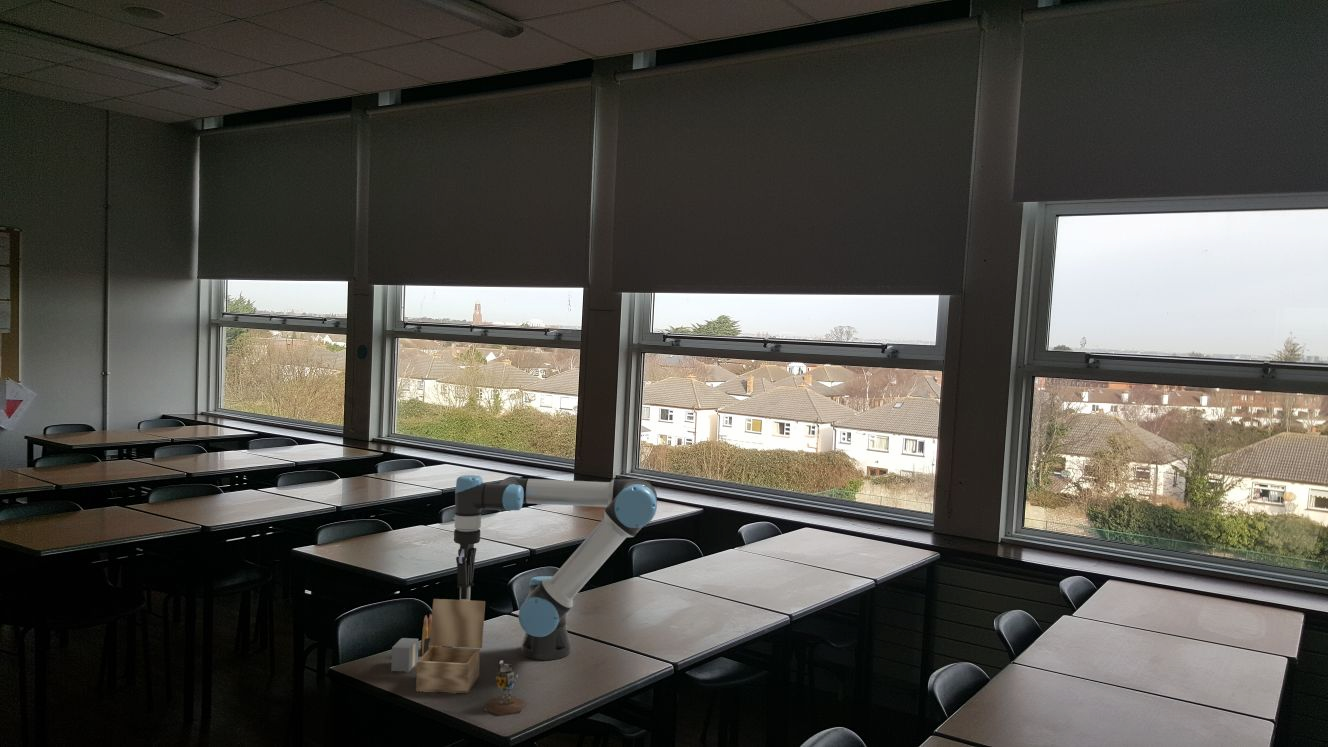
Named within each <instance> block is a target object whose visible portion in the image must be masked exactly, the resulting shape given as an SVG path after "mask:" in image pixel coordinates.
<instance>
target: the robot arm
mask: <svg viewBox="0 0 1328 747" xmlns="http://www.w3.org/2000/svg"><path fill="white" fill-rule="evenodd" d="M454 494H455V495H454V505H455V506H454V516H453V517H452V519H453V520H454V528H455V529H454V530H453V542H454V543H455V544H458V545H459V548H458V551H457V554H458V556H456V558H455V560H456V572H457V573H456V574H457V585H456V587H457V588H459V600H469V601H471V587H472V586H473V587H474V573H475V572H474V571H475V561H476V554H477V548H476V547H475V544H478V543H480V542H481V529H480V528H481V526H482V525H481V524H482V510H492V511H493V510H494V511H507V512H511V511H520V510H521V509H522V508H523V505H524V504H536V505H537V504H539V505H556V506H561V505H562V506H579V507H596V508H597V507H599V508H604V511H603V513H604V514H603V516H604V517H603V519H602V520H601V521H600V523H599V524H597V526H596V527H595V528H594V529H593V530H592V531H591V532H590V534H588V536H587V537H586V538H585V540H583V541H582V543H581V544H580V545H579V546H578V547H577V548H576V550H575V551H574V552H573V553H572V554H571V555H570V556H569V557H568V558H567V560H566V561H565V562H564V563H563V564H562V566H561V567H560V568H559V569H558V570H557V571H556V572H555V574H554V575H553V576H552V575H551V576H550V575H548V576H547V575H544V576H543V575H541V576H540V575H539V576H534V577H531V578H530V579H529V584H528V587H529V588H528V589H529V590H528V594H527V596H526V598H525V599H524V601H523V602H522V603H521V605H520V607H519V610H518V622H519V625H520V627H521V628H522V630H523V631H524V632H525V635H524V637H523V640H522V643H521V651H520V652H521V654H522V656H524V657H526V658H529V659H533V660H540V661H541V660H542V661H549V660H551V661H552V660H556V659H557V660H558V659H563V658H566V657H567V656H569V655H570V654H571V651H572V645H571V644H572V643H571V640H570V636H569V633H568V629H567V613H568V612H569V611H570V610H571V609H572V608H573V606H574V600H573V599H574V597H576V595H578V593H579V592H580V591H581V590H582V588H584V587H585V585H586V584H587V583H588V582H589V581H590V579H591V578H592V577H593V576H594V575H595V574H596V573H597V572H598V570H599V569H600V568H601V567H602V566H603V565H604V563H605V562H606V561H607V560H608V559H609V558H610V557H611V555H612V554H613V553H614V552H615V551H616V550H617V548H619V546H621V544H622V543H623V542H624V541H625V540H626V539H627V538H634V537H635V536H636V535H637V534H638V533H639V531H641V530H642V528H643V527H644V526H646V525H648V524H649V523H650V522H651V521H652V520H653V518H654V517H655V515H656V512H657V510H658V509H657V508H658V507H657V506H658V494H657V491H656V489H655V488H654V486H653V485H652V484H651V483H650V482H649V481H647V480H644V479H640V478H630V479H629V478H627V479H624V478H623V479H618V478H614V479H613V478H612V479H611V481H610V482H609V481H606V482H605V481H585V480H566V479H565V480H561V479H544V478H542V479H541V478H540V479H539V478H521V477H519V476H508V477H506V478H503V480H502V481H501V482H499V483H484V481H483V478H482V476H480V475H474V474H468V475H467V474H466V475H460V476H459V477H457V478H456V483H455V491H454Z"/></svg>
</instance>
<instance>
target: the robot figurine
mask: <svg viewBox="0 0 1328 747" xmlns="http://www.w3.org/2000/svg"><path fill="white" fill-rule="evenodd" d="M498 664H499V665H498V669H500V670H499V672H497V676H495V680H496V683H497V688H499V689H503V695H502V696H498V697H497V696H496V697H491V698H490V699H489V700H488V702H487V703H486V704H485V705H484V710H485V709H486V710H487V711H486V710H485V711H486V712H489V711H490V712H489V713H492V714H493V713H494V714H493V715H495V716H498V717H500V716H509V715H514V714H520V713H521V712H522V710H523V709H524V708H525V706H527V701H526V700H524V699H522V698H520V697H517V696H514V695H511V690H512V689H513V688H514V684H515V683H516V681H517V679H518V678H519V674H518V673H515V672H514V670H512V668H513V667H514V666H513V664H512V663H509V664H508V663H504V660H500V661H499V663H498ZM507 691H508V695H507V694H506V692H507Z"/></svg>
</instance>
